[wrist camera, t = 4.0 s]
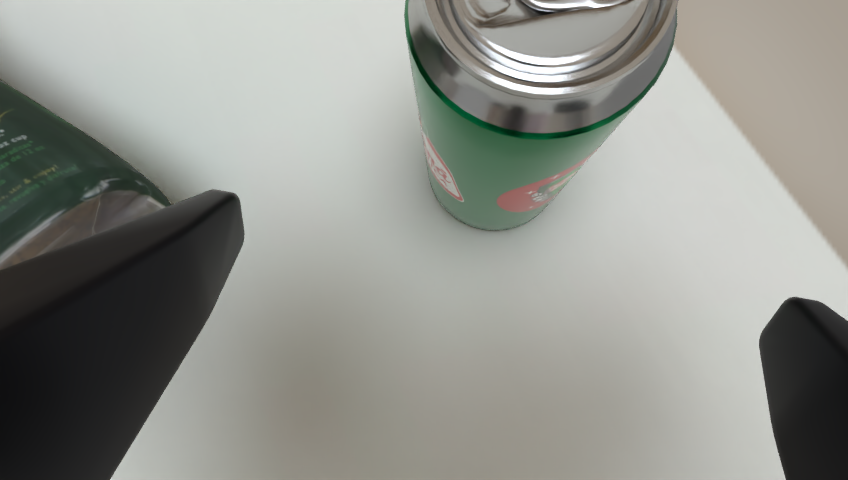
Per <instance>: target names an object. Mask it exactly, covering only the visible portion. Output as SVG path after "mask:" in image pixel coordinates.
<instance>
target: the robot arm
mask: <svg viewBox="0 0 848 480" xmlns="http://www.w3.org/2000/svg"><path fill="white" fill-rule="evenodd" d="M243 241H244V226H243V219H242V212H241V205H240V200H239V198H238V196H237V195H236V194H235V193H231V192H226V191H221V190H209V191H207V192H204V193H202V194H199V195H196V196H194V197H191V198H188V199H186V200H183V201H181V202H178V203H175V204H173V205H170V206H167V207H165V208H162V209H160V210H157V211H154V212H152V213H149V214H147V215H144V216H141V217H139V218H136V219H133V220H131V221H128V222H126V223H123V224H120V225H118V226H115V227H112V228H110V229H107V230H105V231H102V232H99V233H97V234H94V235H91V236H89V237H86V238H84V239H81V240H78V241H76V242H73V243H71V244H68V245H65V246H63V247H60V248H57V249H55V250H52V251H50V252H47V253H44V254H42V255H39V256H36V257H34V258H31V259H29V260H26V261H23V262H21V263H18V264H15V265H13V266H10V267H8V268H5V269H2V270H0V480H110V479H111V477H112V475H113V474H114V472H115V470H116V469H117V467H118V466H119V464H120V462H121V461H122V459H123V457H124V456H125V454H126V452H127V451H128V449H129V448H130V446H131V444H132V443H133V441H134V439H135V438H136V436H137V434H138V433H139V431H140V430H141V428H142V426H143V425H144V423H145V421H146V420H147V418H148V417H149V415H150V413H151V412H152V410H153V408H154V407H155V405H156V403H157V402H158V400H159V399H160V397H161V395H162V394H163V392H164V390H165V389H166V387H167V385H168V384H169V382H170V381H171V379H172V377H173V376H174V374H175V372H176V371H177V369H178V367H179V366H180V364H181V363H182V361H183V359H184V358H185V356H186V354H187V353H188V351H189V350H190V348H191V346H192V345H193V343H194V341H195V340H196V338H197V336H198V335H199V333H200V332H201V330H202V328H203V327H204V325H205V323H206V321H207V320H208V318H209V316H210V314H211V312H212V310H213V308H214V306H215V304H216V302H217V299H218V297H219V295H220V293H221V291H222V289H223V286H224V284H225V282H226V280H227V278H228V276H229V273H230V271H231V269H232V267H233V265H234V262H235V260H236V258H237V256H238V254H239V252H240V249H241V247H242V245H243ZM759 348H760V355H761V361H762V367H763V374H764V380H765V386H766V393H767V399H768V405H769V411H770V418H771V423H772V428H773V433H774V437H775V441H776V445H777V449H778V453H779V456H780V460H781V463H782V467H783V471H784V474H785V478H786V480H848V321H847V320H845V319H844V318H843V317H841V316H840V315H839V314H837V313H836V312H834V311H833V310H832V309H830V308H829V307H828V306H826V305H825V304H823V303H821V302H819V301H815V300H810V299H804V298H799V297H791V298H788V299H787V300H785V301H784V302H783V304H782V305H781V306H780V308H779V309H778V310H777V312H776V313H775V314H774V316H773V317H772V319H771V320H770V321H769V323H768V324H767V325H766V327H765V328H764V329H763V331H762V333H761V336H760V340H759Z"/></svg>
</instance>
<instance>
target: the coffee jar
mask: <svg viewBox="0 0 848 480" xmlns="http://www.w3.org/2000/svg"><path fill="white" fill-rule="evenodd" d="M167 206H170V203H169V201H168V200H167V198H166V197H165V196H164V194H163V193H162V192H161V191H160V190H159V189H158V188H157V187H156V186H155V185H154V184H153V183H152V182H150V181H149V180H148V179H147V178H145V177H144V176H143V175H142V174H141V173H139V172H138V171H137V170H136V169H135V168H133V167H132V166H131V165H129V164H128V163H127V162H125V161H124V160H123V159H121V158H120V157H119V156H117V155H116V154H114V153H113V152H112V151H110V150H109V149H107V148H106V147H105V146H103V145H102V144H100V143H99V142H97V141H96V140H94V139H93V138H91V137H90V136H88V135H87V134H85V133H84V132H82V131H81V130H79V129H77V128H76V127H74V126H73V125H71V124H70V123H68V122H66V121H65V120H63V119H62V118H60V117H58V116H57V115H55V114H54V113H52V112H51V111H49V110H47V109H46V108H44V107H43V106H41V105H39V104H38V103H36V102H35V101H33V100H31V99H30V98H28V97H27V96H25V95H23V94H22V93H20V92H19V91H17V90H15V89H14V88H12V87H11V86H9V85H8V84H6V83H5V82H3V81H2V80H0V270H2V269H5V268H8V267H10V266H13V265H15V264H18V263H21V262H23V261H26V260H29V259H31V258H34V257H36V256H39V255H42V254H44V253H47V252H50V251H52V250H55V249H57V248H60V247H63V246H65V245H68V244H71V243H73V242H76V241H78V240H81V239H84V238H86V237H89V236H91V235H94V234H97V233H99V232H102V231H105V230H107V229H110V228H112V227H115V226H118V225H120V224H123V223H126V222H128V221H131V220H133V219H136V218H139V217H141V216H144V215H147V214H149V213H152V212H154V211H157V210H160V209H162V208H165V207H167Z"/></svg>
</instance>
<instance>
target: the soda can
mask: <svg viewBox="0 0 848 480" xmlns="http://www.w3.org/2000/svg"><path fill="white" fill-rule="evenodd" d="M677 4H678V0H406V1H405V14H404V17H405V28H406V37H407V44H408V50H409V56H410V62H411V69H412V75H413V81H414V87H415V93H416V100H417V106H418V112H419V118H420V124H421V131H422V137H423V143H424V149H425V155H426V162H427V168H428V174H429V179H430V183H431V187H432V189H433V191H434V193H435V196H436V197H437V199H438V200H439V202H440V203H441V205H442V206H443V207H444V208H445V209H446V210H447V211H448V212H449V213H450V214H451V215H452V216H454V217H455V218H456V219H458V220H460V221H461V222H463V223H465V224H467V225H470V226H472V227H475V228H479V229H484V230H505V229H510V228H514V227H517V226H520V225H522V224H524V223H527V222H528V221H530V220H531V219H533V218H535V217H536V216H537V215H538V214H539V213H540V212H542V211H543V210H544V209H545V207H546V206H547V205H548V204H549V203H550V202H551V201H552V200H553V198H554V197H555V196H556V195H557V194H558V193H559V192H560V191H561V189H562V188H563V187H564V186H565V185H566V184H567V183H568V182H569V180H570V179H571V178H572V177H573V176H574V175H575V174H576V173H577V171H578V170H579V169H580V168H581V167H582V166H583V165H584V164H585V162H586V161H587V160H588V159H589V158H590V157H591V156H592V155H593V153H594V152H595V151H596V150H597V149H598V148H599V147H600V146H601V144H602V143H603V142H604V141H605V140H606V139H607V138H608V137H609V135H610V134H611V133H612V132H613V131H614V130H615V129H616V128H617V126H618V125H619V124H620V123H621V122H622V121H623V120H624V119H625V117H626V116H627V115H628V114H629V113H630V112H631V111H632V110H633V108H634V107H635V106H636V105H637V104H638V103H639V102H640V101H641V99H642V98H643V97H644V96H645V95H646V93H647V92H648V91H649V90H650V89H651V87H652V86H653V85H654V84H655V83H656V81H657V79H658V77H659V76H660V74H661V72H662V70H663V69H664V67H665V65H666V63H667V61H668V58H669V55H670V52H671V50H672V47H673V44H674V38H675V32H676V27H677Z"/></svg>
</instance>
